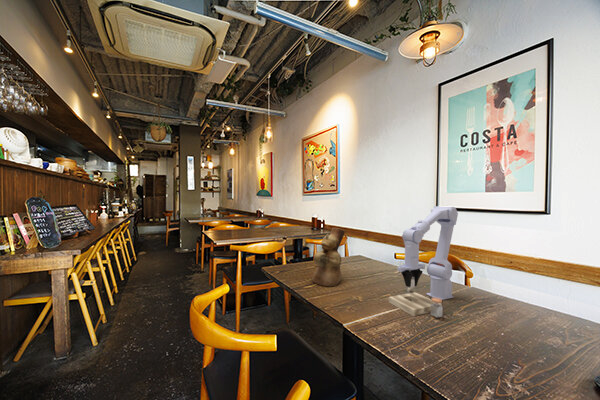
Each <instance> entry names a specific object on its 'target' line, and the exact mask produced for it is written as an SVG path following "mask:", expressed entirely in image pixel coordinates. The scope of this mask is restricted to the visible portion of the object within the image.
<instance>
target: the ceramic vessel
mask: <svg viewBox="0 0 600 400" xmlns="http://www.w3.org/2000/svg"><path fill="white" fill-rule="evenodd" d="M344 235H345V229H342V228H338V227H332V228H331V231H330V234H329V233H326V235H325V236H324V237H323V238H322V240H321V244H320V245H321V250H320V251H317V252H316V253H315V254H314V255H313V262H314V264H315V265H317V268H316V269H315V271H314V272H313V274H312V279H311V280H312V282H313V283H314V284H317V285H319V286H324V287H329V288H330V287H332V286H333V287H335V286H338V285H339V283H340V281H341V279H342V272H341V265H342V256H341V254H340V253H339V252H338V250H339V248H340V245H341V243H342V240H343V239H344Z"/></svg>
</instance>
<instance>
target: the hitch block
mask: <svg viewBox="0 0 600 400" xmlns="http://www.w3.org/2000/svg"><path fill="white" fill-rule="evenodd" d="M388 303H389V304H391V305H393V306H394V307H396V308H398V309H399V310H402V311H403V312H406V313H407V314H409V315H411V316H413V317H417V316H420V315H424V314H425V315H426V314H430V311H431V304H435V302H433V301H432V298H429V297H427V296H424V295H422V294H420V293H418V292H414V293H410V292H408V293H403V294H398V295H392V296H389V297H388ZM438 304H439V305H441V306H443V305H442V303H438Z"/></svg>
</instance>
